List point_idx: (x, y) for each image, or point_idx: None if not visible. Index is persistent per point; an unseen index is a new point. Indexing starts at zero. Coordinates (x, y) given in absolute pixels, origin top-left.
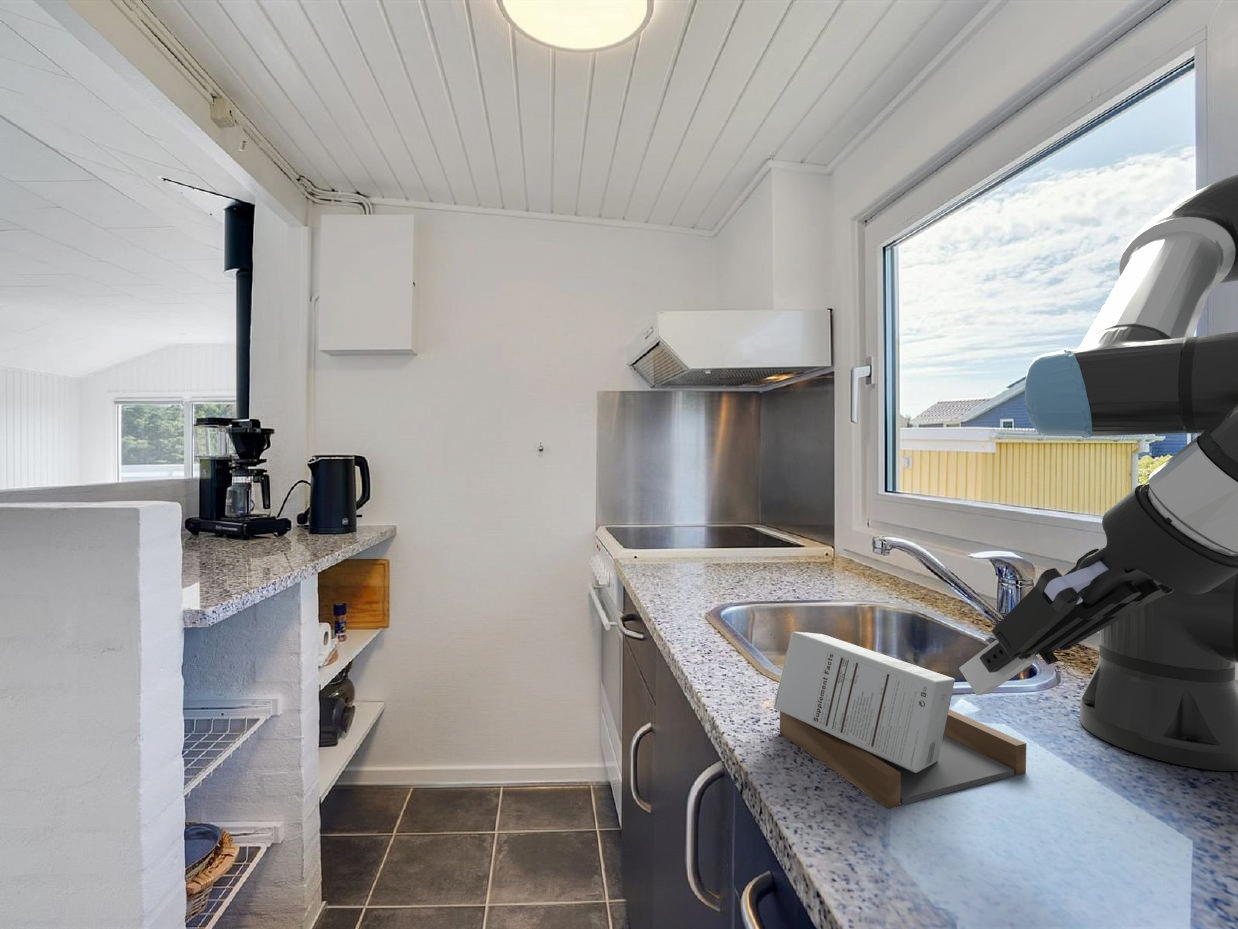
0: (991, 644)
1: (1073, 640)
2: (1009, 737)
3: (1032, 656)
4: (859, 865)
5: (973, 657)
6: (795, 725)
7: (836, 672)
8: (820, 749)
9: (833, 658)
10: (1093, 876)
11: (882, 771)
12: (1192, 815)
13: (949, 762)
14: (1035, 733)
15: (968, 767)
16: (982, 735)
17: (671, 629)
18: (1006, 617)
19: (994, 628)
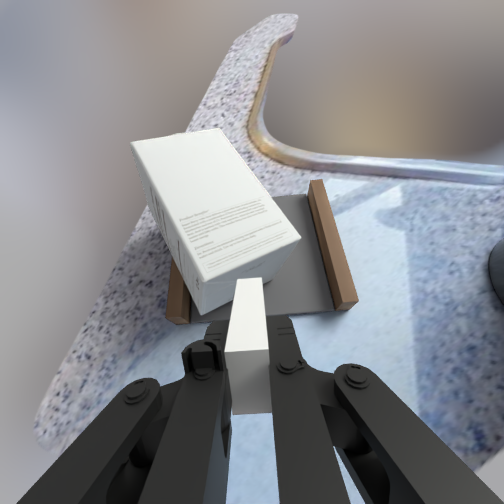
0: (230, 321)
1: (358, 485)
2: (350, 286)
3: (258, 407)
4: (90, 384)
5: (234, 295)
6: None
7: (156, 207)
8: None
9: (152, 192)
10: (260, 472)
11: (167, 309)
12: (467, 425)
13: (281, 283)
14: (423, 252)
15: (292, 294)
16: (332, 269)
17: (230, 60)
18: (32, 491)
19: (112, 402)
